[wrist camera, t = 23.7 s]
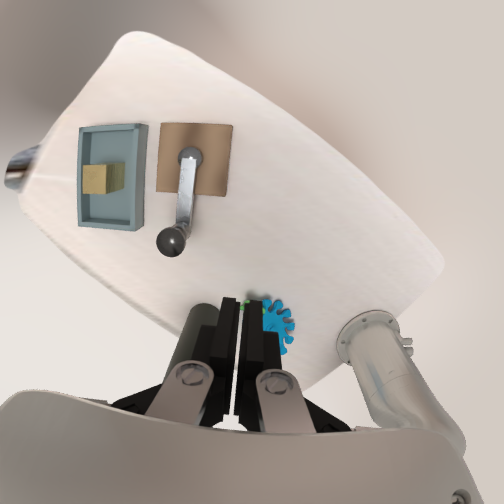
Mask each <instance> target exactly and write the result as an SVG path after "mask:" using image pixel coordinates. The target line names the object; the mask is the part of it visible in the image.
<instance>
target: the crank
mask: <svg viewBox="0 0 504 504" xmlns="http://www.w3.org/2000/svg"><path fill="white" fill-rule="evenodd" d="M202 160H203V156H202V153H201V152H200V150H199V149H197V148H195V147H186V148H184V149H182V150H181V151H180V153H179V155H178V163H179V165H180V167H181V171H180V180H179V190H178V201H177V212H176V224H175V225H174V226H173V227H168V228H165V229H164V230H162V231H161V232H160V233H159V234H158V236H157V240H156V244H157V247H158V249H159V251H160V252H161V253H162V254H163V255H165V256H167V257H176V256H178V255H180V254H181V253H182V251H183V250H184V248H185V246H186V240H187V239H188V238H189V237H190V234H191V221H192V211H193V201H194V191H195V182H196V174H197V168H198V167H199V166H200V165H201V163H202Z"/></svg>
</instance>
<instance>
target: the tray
mask: <svg viewBox="0 0 504 504" xmlns="http://www.w3.org/2000/svg"><path fill="white" fill-rule="evenodd" d="M147 136H148V125H144V124H118V125H103V126H91V127H81V128H79V140H78V158H77V212H78V226H81V227H92V228H103V229H114V230H124V231H137V230H138V229H139V228H141V227H142V226H144V184H145V164H146V149H147ZM97 163H125V176H124V189H121V190H118V191H114V192H111V193H108V194H83V165H89V164H97Z"/></svg>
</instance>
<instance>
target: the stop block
mask: <svg viewBox="0 0 504 504" xmlns="http://www.w3.org/2000/svg"><path fill="white" fill-rule="evenodd" d="M124 176H125V163H97V164H89V165H83V194H108V193H111V192H114V191H118V190H121V189H124Z"/></svg>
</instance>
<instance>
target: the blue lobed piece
mask: <svg viewBox="0 0 504 504" xmlns="http://www.w3.org/2000/svg"><path fill="white" fill-rule="evenodd" d="M249 302H250V300H249V301H245V302H244V303H249ZM262 302H263V331H274V332H278V334H279V343H280V354H281V355H284V354H286V353H287V349H286V348H285V347H284V344H283V337H284V338H285V343H287V344H291V343H292V342H293V340H294V338H293V337H292V336H289V335H288V334H287V333H286V331H285V327H286V328H287V329H288V330H294V327H295V323H285V322H283V317H285V318H289V317H291V312H290V310H284V311H283V312H282V313H281V314H280V315H277V313H276V311H277V310H278V309H281V308H282V307H283V304H282V303H281V302H280V301H275V302H274V306H273V309H272V310H271V311H270V312H268V308H269V307H270V306H271V304H272V301H271V300H268V299H263V301H262ZM240 310H244V306H240ZM242 321H243V320H242Z"/></svg>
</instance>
